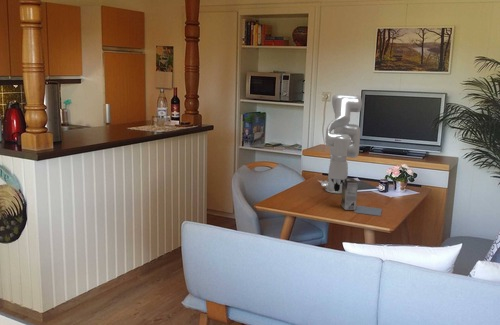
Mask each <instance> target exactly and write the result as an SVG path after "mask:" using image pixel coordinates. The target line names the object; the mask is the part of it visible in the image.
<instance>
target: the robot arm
mask: <svg viewBox="0 0 500 325" xmlns="http://www.w3.org/2000/svg"><path fill="white" fill-rule="evenodd" d="M331 104H332V110H333V112H334V118H333V120H331V122H330V123H329V124H328V125H327V127H326V129H325V139H324V141H325V145H326V146H328V147H329V153H330V154H329V155H330V156H329V158H330V160H329V161H330V162H329V166H328V167H329V168H328V175H327V176H328V177H327V180H328V182H326V183H325V182H321V187H323V188H325V191H326V192H328V193H331V194H341V195H342V182H344V181H345V180H347V178H348V175H349V174H348V170H349V169H348V168H349V167H348V163H349V162H348V161H347V158H353V159H355V158H357V157H358V156H359V154H360V142H361V141H360V140H361V128H360V126H359V125H358V124H354V123H353V124H351V123H350V122H351V113H360V112H361V110H362V107H363V105H362V104H363V101H362V97H361V96H360V95H358V94H357V95H355V94H347V93H346V94H343V93H342V94H341V93H339V94H337V93H336V94H335V95H333V96H332V99H331ZM332 131H333V132H332Z"/></svg>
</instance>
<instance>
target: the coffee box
mask: <svg viewBox="0 0 500 325" xmlns="http://www.w3.org/2000/svg"><path fill="white" fill-rule="evenodd" d="M358 185H359V181H357V180H356V179H355V178H350V177H347V180H345V181H344V182H342V193H341V198H340V207H341V208H342V209H343V210H345V211H355V210H356V206H357V197H358Z"/></svg>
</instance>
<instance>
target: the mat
mask: <svg viewBox="0 0 500 325" xmlns="http://www.w3.org/2000/svg"><path fill="white" fill-rule="evenodd" d="M382 212H383V209H382V208H378V207H370V206H366V205H365V206H363V205H356V210H353V213H354V214H361V215H368V216H374V217H375V216H376V217H382V216H381V215H382Z"/></svg>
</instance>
